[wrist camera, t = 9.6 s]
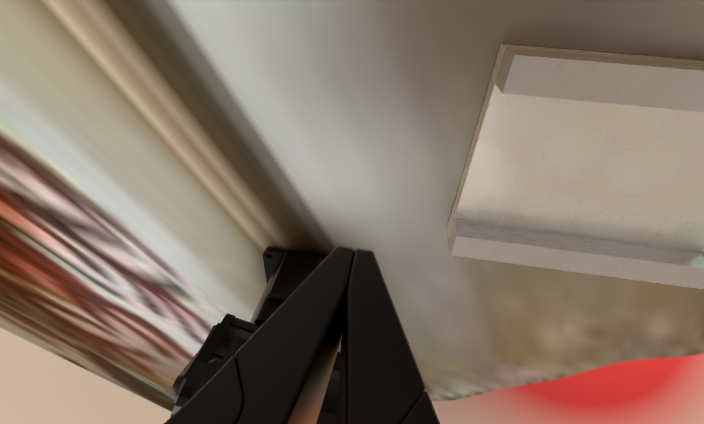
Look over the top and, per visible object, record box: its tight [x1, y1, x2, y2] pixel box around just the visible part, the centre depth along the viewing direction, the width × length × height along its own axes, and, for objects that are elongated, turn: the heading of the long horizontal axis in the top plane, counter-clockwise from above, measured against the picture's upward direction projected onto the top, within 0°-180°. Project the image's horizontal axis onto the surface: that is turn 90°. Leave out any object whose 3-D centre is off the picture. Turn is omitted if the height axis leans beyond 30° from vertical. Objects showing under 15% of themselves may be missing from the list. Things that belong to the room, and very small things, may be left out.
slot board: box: [447, 44, 704, 289], centre depth 17 cm, size 11×14×2 cm
